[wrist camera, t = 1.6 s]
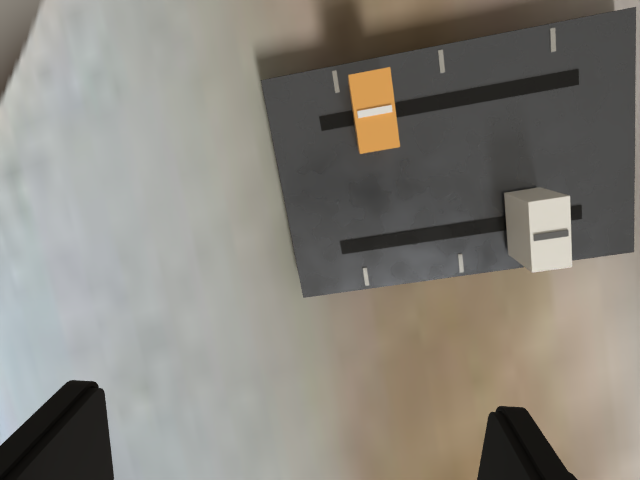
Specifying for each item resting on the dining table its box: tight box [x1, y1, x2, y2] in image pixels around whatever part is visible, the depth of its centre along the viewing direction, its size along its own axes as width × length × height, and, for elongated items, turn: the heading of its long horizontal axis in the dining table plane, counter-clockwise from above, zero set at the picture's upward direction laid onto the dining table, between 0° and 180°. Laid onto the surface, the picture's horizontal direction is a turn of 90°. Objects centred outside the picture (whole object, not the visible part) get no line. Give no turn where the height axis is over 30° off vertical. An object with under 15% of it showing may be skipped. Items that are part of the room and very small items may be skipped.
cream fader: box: [504, 187, 572, 272], centre depth 27 cm, size 2×4×4 cm, turn 10°
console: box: [261, 7, 636, 298], centre depth 30 cm, size 24×16×2 cm, turn 100°
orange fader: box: [348, 67, 400, 154], centre depth 26 cm, size 2×4×4 cm, turn 10°
